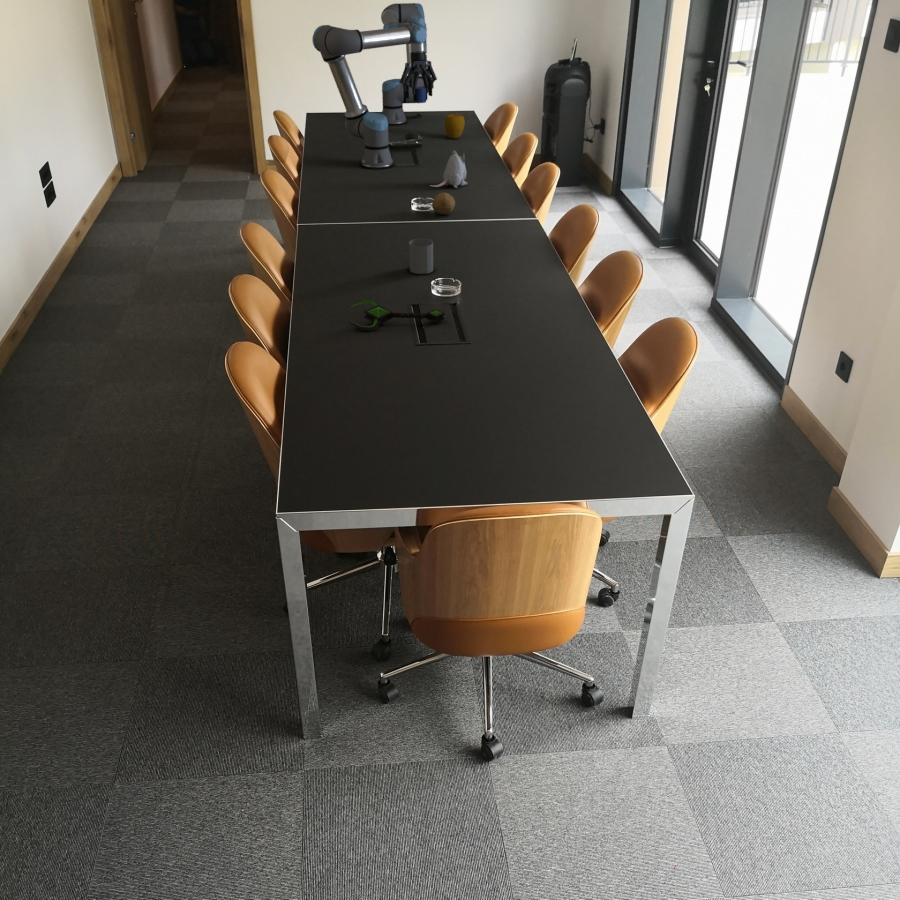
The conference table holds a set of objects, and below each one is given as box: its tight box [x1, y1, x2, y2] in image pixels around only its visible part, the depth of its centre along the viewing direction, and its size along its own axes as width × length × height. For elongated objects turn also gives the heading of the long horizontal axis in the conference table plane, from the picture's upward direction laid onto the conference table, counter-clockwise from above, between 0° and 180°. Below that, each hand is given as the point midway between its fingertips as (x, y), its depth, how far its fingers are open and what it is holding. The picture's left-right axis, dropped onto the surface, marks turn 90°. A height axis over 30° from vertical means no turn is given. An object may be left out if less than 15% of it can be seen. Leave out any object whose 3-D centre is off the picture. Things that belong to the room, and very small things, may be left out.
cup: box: [408, 237, 434, 275], centre depth 305 cm, size 8×8×10 cm
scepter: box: [348, 298, 446, 331], centre depth 269 cm, size 6×13×30 cm
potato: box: [431, 192, 456, 216], centre depth 360 cm, size 10×14×8 cm
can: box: [415, 87, 427, 104], centre depth 473 cm, size 6×6×7 cm
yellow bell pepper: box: [444, 113, 466, 140], centre depth 472 cm, size 11×11×13 cm
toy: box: [428, 149, 468, 189], centre depth 390 cm, size 9×24×15 cm, turn 137°
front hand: (418, 97), depth 440 cm, fingers open, 13 cm apart
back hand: (420, 100), depth 474 cm, fingers closed on can, 6 cm apart
